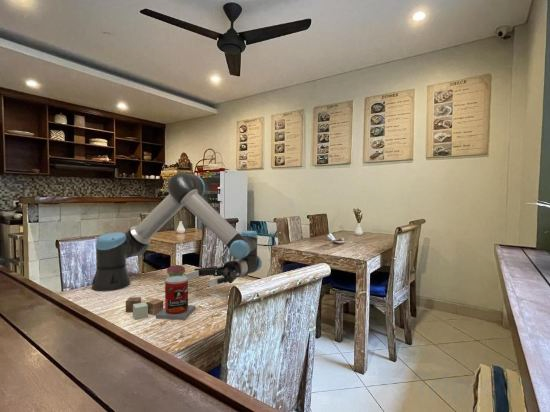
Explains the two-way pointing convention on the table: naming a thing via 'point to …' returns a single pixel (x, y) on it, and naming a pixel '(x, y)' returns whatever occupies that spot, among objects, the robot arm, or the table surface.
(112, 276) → the robot arm
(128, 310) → the walnut block
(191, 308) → the plate
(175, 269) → the cupcake
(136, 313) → the sage painted block
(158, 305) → the teak block
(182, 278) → the canned food
